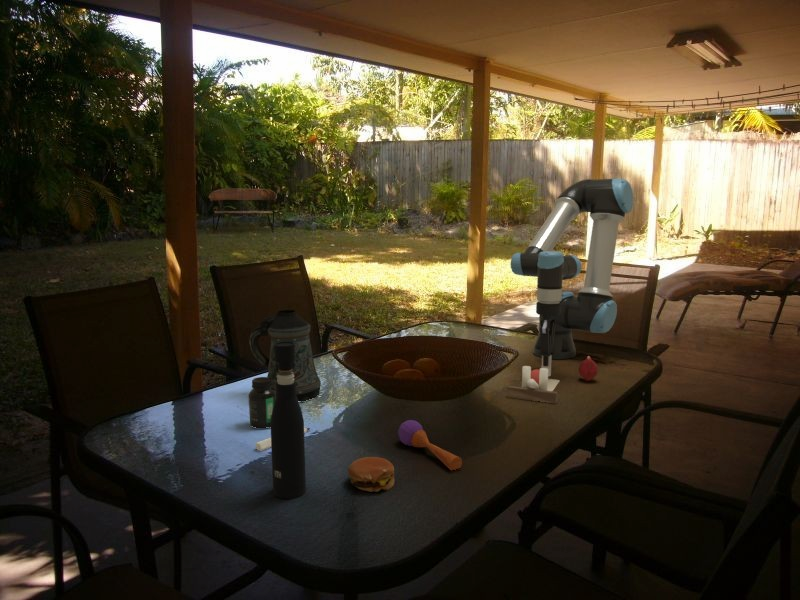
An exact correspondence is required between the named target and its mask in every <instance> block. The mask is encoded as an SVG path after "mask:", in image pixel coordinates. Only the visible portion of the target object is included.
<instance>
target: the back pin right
mask: <svg viewBox="0 0 800 600" xmlns="http://www.w3.org/2000/svg"><path fill="white" fill-rule="evenodd" d="M531 371H532V367H531V366H530V365H523V366H522V371H521V373H522V374H521V387H522V388H530V387H529V386H528V385H527V381H528V380H529V379H531Z"/></svg>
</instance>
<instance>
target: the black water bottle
mask: <svg viewBox="0 0 800 600" xmlns="http://www.w3.org/2000/svg"><path fill="white" fill-rule="evenodd" d="M274 353H275V362H278V363H279V369H278V371H279V372H280V373H278V376H277V378H278V379H277V381H278V382H277V383H276V400H275V403H274V406H273V410H272V415H271V428H270V437H271V469H272V470H271V471H272V473H271V474H272V475H271V476H272V493H273V495H274V496H275V497H276V496H277V497H276V498H278V497H279V498H278V499H282V498H285V499H284V500H290V498H292V499H296V498H299V497H301V496H303V495H304V494H305V493H306V490H307V487H306V486H307V485H306V484H307V483H306V482H307V481H306V478H307V477H306V451H305V450H306V449H305V434H304V428H305V424H304V423H305V421H304V415H303V411H302V407H301V405H300V403H299V402H298V399H297V397H296V383H295V382H294V375H293V372H291V371H292V362H293V361H295V343H293V342H278V343H275V344H274ZM286 498H287V499H286Z"/></svg>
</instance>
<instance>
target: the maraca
mask: <svg viewBox="0 0 800 600" xmlns="http://www.w3.org/2000/svg"><path fill="white" fill-rule="evenodd" d="M397 431H398V432H397V433H398V434H397V435H398V437H399V440H400V442H401V443H402V444H404V445H405V446H407V445H408V446H407V447H409V446H410V447H414V448H427V449H428V450H429V451H430V452H431V453H432V454H433V455H435V457H436V458H437V459H439V460H440V461H441V463H442V464H443V465H444V466H445V467H447V468H448V469H449V470H450V471H451V472H453V471H452V470H455V471H457V470H456V469H458V468H460V469H461V467H462V465H463V460H462V458H461V457H460V456H457V455H455V454H453V453H451V452H450V451H448V450H445V449H443V448H441V447H439V446H437V445H435V444H433V443H430V441H429V439H428V436H427V433H426V431H425V430H424V429H423V425H422V424H421V423H420V422H418V421H417V420H412V419H408V420H405V421H404V422H402V423H401V424H400V425H399V428H398V429H397ZM458 470H459V469H458Z"/></svg>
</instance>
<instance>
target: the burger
mask: <svg viewBox="0 0 800 600" xmlns="http://www.w3.org/2000/svg"><path fill="white" fill-rule="evenodd" d="M347 475H348V476H349V478H350V483H351V485H352V486H354V487H356V488H357V489H359V490H361V491H365V492H377V493H378V492H379V491H381V490H384V491H388V490H390V489H392V488H393V487H394V486H395V467H394V465H393V463H391V461H389V460H388V459H386V458H383V457H382V458H381V457H378V456H366V457H361V458H358V459H356V460H354V461H352V462H351V464H350V465H349V467H348V470H347Z"/></svg>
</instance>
